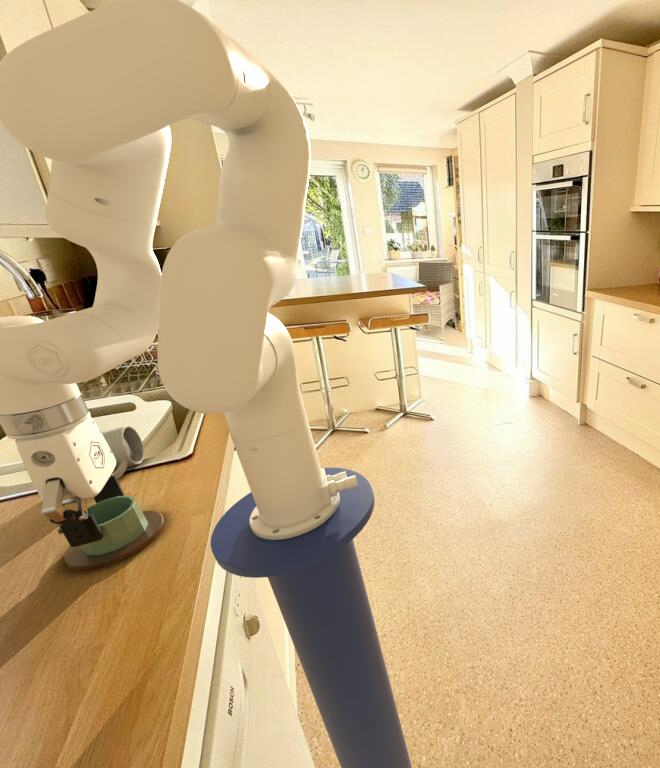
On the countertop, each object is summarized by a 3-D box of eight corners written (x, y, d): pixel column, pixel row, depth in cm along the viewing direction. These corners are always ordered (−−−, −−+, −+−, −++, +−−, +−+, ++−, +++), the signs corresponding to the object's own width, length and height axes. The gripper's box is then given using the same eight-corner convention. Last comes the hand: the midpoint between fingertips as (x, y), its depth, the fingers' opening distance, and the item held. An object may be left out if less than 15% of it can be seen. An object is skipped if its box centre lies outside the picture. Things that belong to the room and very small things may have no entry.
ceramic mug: (96, 463, 81) (77, 429, 77) (148, 451, 84) (132, 418, 81) (74, 495, 72) (52, 458, 69) (133, 480, 75) (115, 444, 72)
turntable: (171, 506, 68) (169, 502, 68) (156, 550, 59) (153, 546, 59) (83, 530, 63) (81, 526, 63) (52, 583, 54) (49, 578, 54)
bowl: (152, 513, 65) (140, 489, 63) (140, 542, 59) (127, 518, 58) (83, 532, 62) (69, 508, 60) (63, 566, 56) (47, 540, 54)
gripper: (57, 437, 47) (115, 550, 54) (106, 385, 61) (148, 480, 68) (-39, 455, 44) (37, 573, 51) (36, 395, 58) (87, 494, 65)
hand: (100, 519), depth 59 cm, fingers open, 9 cm apart
